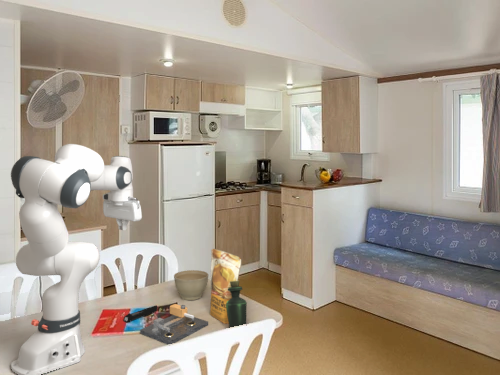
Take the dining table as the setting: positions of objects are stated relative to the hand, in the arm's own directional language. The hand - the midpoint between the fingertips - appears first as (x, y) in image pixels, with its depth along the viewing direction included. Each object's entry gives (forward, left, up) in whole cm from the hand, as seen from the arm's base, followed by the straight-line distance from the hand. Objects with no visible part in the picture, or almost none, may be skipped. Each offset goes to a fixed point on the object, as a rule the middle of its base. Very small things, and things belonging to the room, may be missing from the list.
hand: (122, 229), depth 168 cm
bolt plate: (+4, -25, -37) cm, 45 cm away
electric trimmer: (+5, -4, -38) cm, 38 cm away
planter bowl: (+34, -6, -37) cm, 51 cm away
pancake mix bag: (+24, -33, -38) cm, 55 cm away
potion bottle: (+17, -46, -36) cm, 61 cm away
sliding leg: (+10, -23, -35) cm, 44 cm away
